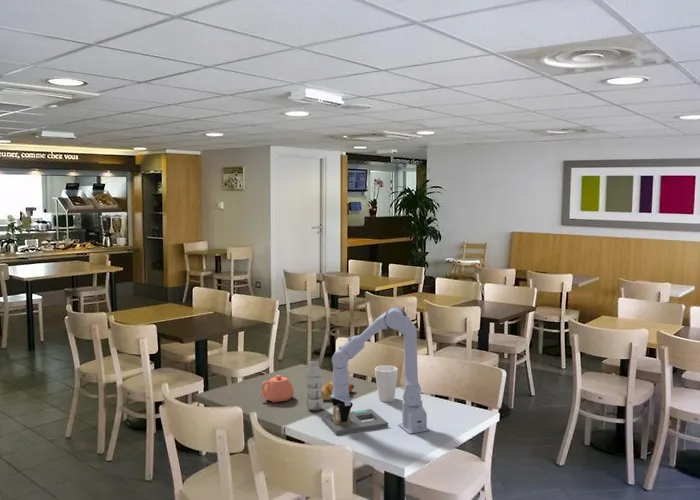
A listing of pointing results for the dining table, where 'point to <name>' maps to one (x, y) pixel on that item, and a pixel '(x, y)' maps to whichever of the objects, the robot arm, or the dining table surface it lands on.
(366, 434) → the dining table surface
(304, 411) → the dining table surface
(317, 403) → the plastic bottle
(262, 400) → the dining table surface
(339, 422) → the plug
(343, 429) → the socket panel
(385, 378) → the foam cup
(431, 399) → the dining table surface
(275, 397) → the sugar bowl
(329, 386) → the croissant
